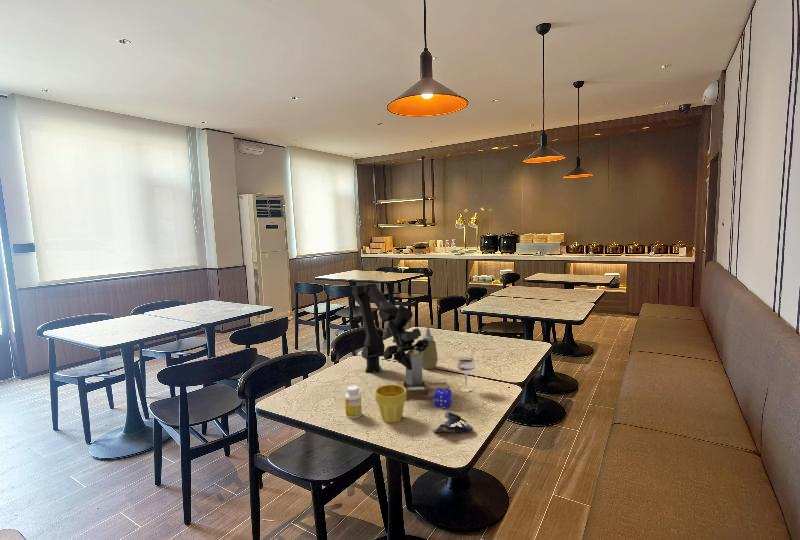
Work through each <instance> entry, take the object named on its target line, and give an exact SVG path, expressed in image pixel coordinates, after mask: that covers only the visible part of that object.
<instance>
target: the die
mask: <svg viewBox="0 0 800 540" xmlns="http://www.w3.org/2000/svg"><path fill="white" fill-rule="evenodd" d="M434 397H435V399H434V407H435V406H436V407H435V408H441V407H445V408H444V409H449V408H450V407H451V405H450V404H452V403H451V402H453V401H452V397H453V396H452V389H449V388H448V389H440V388H438V389H437V391H436V392H435V393H434ZM449 406H450V407H449Z"/></svg>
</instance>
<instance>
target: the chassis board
mask: <svg viewBox="0 0 800 540" xmlns="http://www.w3.org/2000/svg"><path fill="white" fill-rule="evenodd" d="M396 385H400V386H403V387H405V388H406V391H407V399H406V401H410V400H409V399H415V400H435V397H434V393H435V392H436V391H437V389H438V388H440V389H449V387H448V383H447V382H446V381H443V382H442V381H441V382H439V381H438V382H436V381H435V382H427V380H422V385H419V386H415V387H411V386H410V385H408V384H406V380H402V381H401V382H397V383H396Z"/></svg>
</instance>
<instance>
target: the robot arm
mask: <svg viewBox="0 0 800 540" xmlns="http://www.w3.org/2000/svg"><path fill="white" fill-rule="evenodd" d="M377 286H378V285H377V283H374V282H371V283H365V284H357V285H354V286H353V287H352V289H351V294H352V296H353V299H354V301H355V302H356V304H357V305H358V307H359V309H360V314H361V315H360V316H361V318H362V323H363V328H364V333H365V340H364V342H363V344H364V348H363V349H362V350H361V353H360V354H361V358H364V359H365V360H366V367H365V371H364V372H365V373H380V372H381V369H382V368H381V367H382V366H381V365H380V357H383V359H384V360H385V361H387V360H388V361H389V360H391V359H392V360H393V361H397V362H398V363H400V364H401V365H402V366H403V367H405V369H406V368H407V369H409V370H411V366H410V364H409V362H408V360H407V358H406V356H405V353H407V352H408V351H411V350H417V351H419V353H421V352H423V351H425V349H426V348H427V347H428V346H429V344H430V343H429V341H428V340H427V339H423V338H422V339H419V337H421V336H422V333H421V330H420V329H419V327H418V328H417V327H416V328H414V329H412V331H409V330H406V328H405V327H406V326H407V325H408V324H409V323H410V321H411V319H412V318H413V316H414V315H413V311H412V310H410V309H409V308H408V307H405V305H399V306H398V307H397V305H395V304H394V303H392V302H390V301H388V300H387V298H386V297H385V296H384V295H383V293H382V292H381V291H380V289H379V288H378V287H377ZM371 300H372V302H373V303H374V305H375V306H376V308H377V309H378V316H379V318H380V320H381V321H382V322H383V323H386V322H389V323H387V326H386V331H388V332H389V333H390V334H391V336H392V343H394V345H389V346H387V347H386V348H385V342H384V337H382V336H381V335H379V334H378V332H377V328H376V323H375V320H374V315H373V310H372V306H371ZM418 339H419V340H418ZM415 340H417V342H416V343H415ZM414 343H415V344H414ZM393 356H394V357H393Z"/></svg>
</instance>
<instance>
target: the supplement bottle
mask: <svg viewBox="0 0 800 540" xmlns="http://www.w3.org/2000/svg"><path fill="white" fill-rule="evenodd" d="M344 400H345V401H344V403H345V405H344V406H345V416H346V417H347V418H349V419H357V418H359V417H360V418H361V416H362V414H363V413H362V409H363V407H362V394H361V393H360V389H359V386H358V385H349V386H347V387H346V394H345V395H344Z"/></svg>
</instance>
